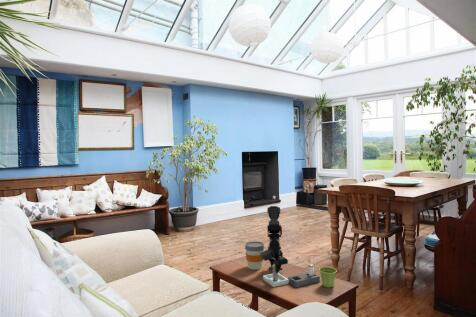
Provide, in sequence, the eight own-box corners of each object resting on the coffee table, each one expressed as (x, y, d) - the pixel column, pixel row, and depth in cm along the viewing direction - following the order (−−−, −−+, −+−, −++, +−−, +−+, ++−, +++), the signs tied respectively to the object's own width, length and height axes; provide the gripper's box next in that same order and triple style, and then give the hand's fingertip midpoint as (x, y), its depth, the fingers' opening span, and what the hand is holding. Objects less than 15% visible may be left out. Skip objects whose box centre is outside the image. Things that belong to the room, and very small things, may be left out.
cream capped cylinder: (271, 279, 180) (271, 264, 180) (276, 278, 181) (276, 263, 181) (274, 282, 177) (274, 266, 177) (279, 280, 178) (278, 265, 178)
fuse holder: (288, 281, 178) (288, 276, 178) (311, 276, 184) (311, 271, 184) (296, 287, 170) (296, 281, 170) (319, 281, 177) (319, 276, 177)
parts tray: (263, 279, 182) (262, 275, 182) (277, 276, 186) (277, 272, 186) (273, 287, 171) (273, 283, 171) (288, 283, 175) (288, 279, 175)
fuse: (307, 279, 180) (306, 264, 180) (311, 278, 181) (311, 263, 181) (310, 281, 177) (310, 266, 177) (315, 280, 178) (314, 265, 178)
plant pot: (338, 283, 173) (338, 268, 173) (334, 290, 165) (334, 274, 165) (322, 280, 178) (321, 265, 178) (317, 287, 170) (317, 271, 170)
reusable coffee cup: (243, 265, 207) (242, 242, 207) (260, 262, 211) (259, 240, 210) (249, 271, 195) (248, 248, 195) (267, 268, 199) (267, 245, 198)
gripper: (254, 242, 184) (255, 269, 184) (270, 251, 167) (271, 280, 167) (271, 240, 188) (271, 265, 189) (288, 248, 171) (288, 276, 172)
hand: (275, 271), depth 179 cm, fingers open, 3 cm apart
